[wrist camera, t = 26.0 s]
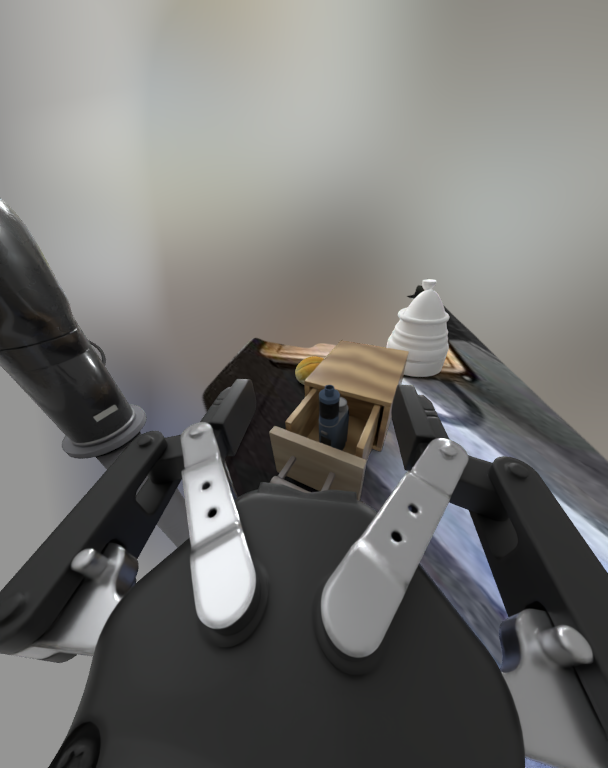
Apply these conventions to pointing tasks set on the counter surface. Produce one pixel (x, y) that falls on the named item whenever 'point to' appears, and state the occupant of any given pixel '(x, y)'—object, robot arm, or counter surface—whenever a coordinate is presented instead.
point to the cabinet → (362, 377)
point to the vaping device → (333, 418)
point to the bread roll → (307, 368)
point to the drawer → (325, 447)
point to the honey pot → (422, 333)
